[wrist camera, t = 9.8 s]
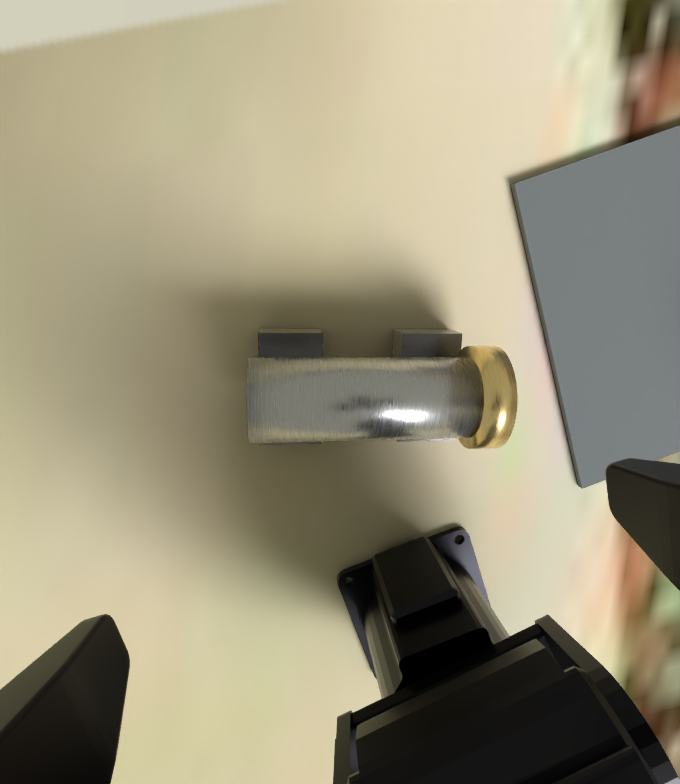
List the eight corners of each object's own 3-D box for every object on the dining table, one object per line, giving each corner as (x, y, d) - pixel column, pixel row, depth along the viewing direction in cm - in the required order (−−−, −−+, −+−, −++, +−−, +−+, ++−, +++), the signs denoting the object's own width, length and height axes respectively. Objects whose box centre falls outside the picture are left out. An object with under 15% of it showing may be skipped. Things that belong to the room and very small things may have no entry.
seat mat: (731, 427, 24) (737, 429, 23) (578, 485, 23) (582, 488, 23) (693, 120, 20) (699, 118, 20) (511, 184, 20) (514, 183, 19)
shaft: (467, 329, 21) (523, 346, 16) (459, 428, 22) (510, 472, 17) (252, 328, 20) (244, 346, 15) (254, 433, 21) (247, 480, 16)
